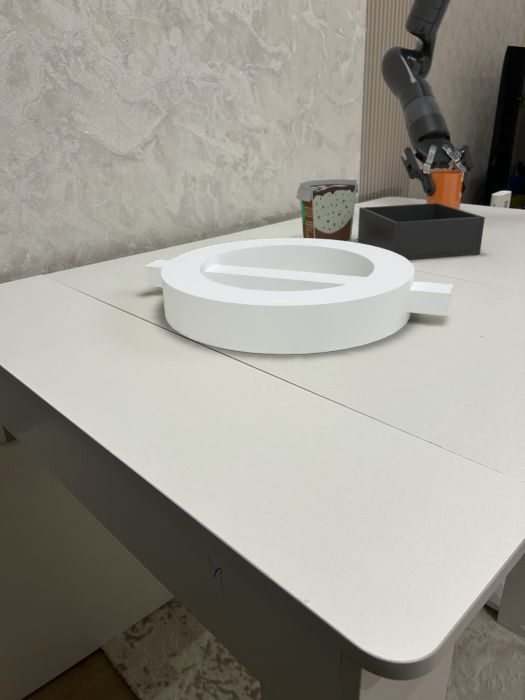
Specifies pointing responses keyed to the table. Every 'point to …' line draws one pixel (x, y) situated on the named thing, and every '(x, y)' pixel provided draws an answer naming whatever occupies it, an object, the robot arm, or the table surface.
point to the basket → (421, 230)
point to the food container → (328, 208)
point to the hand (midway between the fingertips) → (448, 192)
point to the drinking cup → (447, 188)
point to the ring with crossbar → (292, 294)
